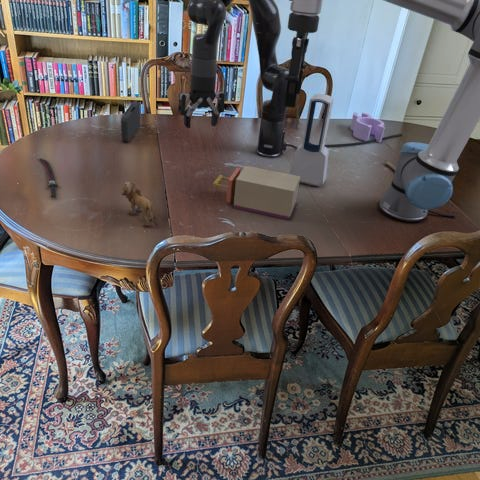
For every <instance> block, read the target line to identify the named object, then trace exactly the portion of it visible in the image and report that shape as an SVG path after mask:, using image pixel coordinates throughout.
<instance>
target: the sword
mask: <svg viewBox="0 0 480 480" xmlns="http://www.w3.org/2000/svg"><path fill="white" fill-rule="evenodd" d="M40 161H41V162H42V163H43V165H44V166H45V169H46V173H47V176H48V185H47V188H50V198H56V197H57V189H56V188H57V187H59V185H58V184H57V183H56V180H55V176H54V172H53V169H52V167H51V164H50V163H49V161H48V160H46V159H43V158H40Z"/></svg>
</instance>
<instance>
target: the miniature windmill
mask: <svg viewBox="0 0 480 480" xmlns="http://www.w3.org/2000/svg"><path fill="white" fill-rule="evenodd" d="M287 69H290V63H288V67H287ZM301 83H303V79H302V81H301ZM299 99H300V94H297V97H296V103H295V108H294V107H288V108H289V109H290V108H291V109H295V111H296V112H295V114H293V113H287V112H286V115H289V116H294V117H295V118H289V117H285V120H289V121H295V129H298V124H300V102H299V101H300V100H299Z"/></svg>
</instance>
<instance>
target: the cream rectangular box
mask: <svg viewBox="0 0 480 480" xmlns="http://www.w3.org/2000/svg"><path fill="white" fill-rule="evenodd" d="M299 187H300V176H296V175H291V174H289V173H287V172H285V173H284V172H280V171H275V170H270V169H265V168H259V167H256V166H250V165H245V166H244V167H243V168H242V169H241V171H240V175H239V176H238V177H237V179H236V186H235V196H234V197H233V206H232V207H233V209H234V208H235V209H237V210H243V211H247V212H251V213H255V214H261V215H266V216H271V217H275V218H279V219H284V220H287V221H290V220H291V217H292V214H293V212H294V209H295V207H296V204H297V198H298V194H299V193H298V192H299Z"/></svg>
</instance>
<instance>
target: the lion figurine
mask: <svg viewBox="0 0 480 480" xmlns="http://www.w3.org/2000/svg"><path fill="white" fill-rule="evenodd" d="M119 193H120V194H121V196H122V197H124V196H125V198H126V199H127V200H128V202H129V203H130V207H131V211H130V212H129V213H130V215H135V214H136V211H137V212H141V214H142V216H143V218H144V219H145V223H144V225H145V227H149V226H150V221H152V223H153V225H155V226H159V222H156V221H155V219H154V217H153V216H154V215H153V204H152V202H151V200H150V199H148V198H146V197H145V196H144V195H143V194H142V192H141V190H140V187H138V185H136V184H135V183H133V182H132V181H125V182H124V186H122V188H121V189H119ZM136 207H137V208H136ZM148 214H149V216H148Z"/></svg>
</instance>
